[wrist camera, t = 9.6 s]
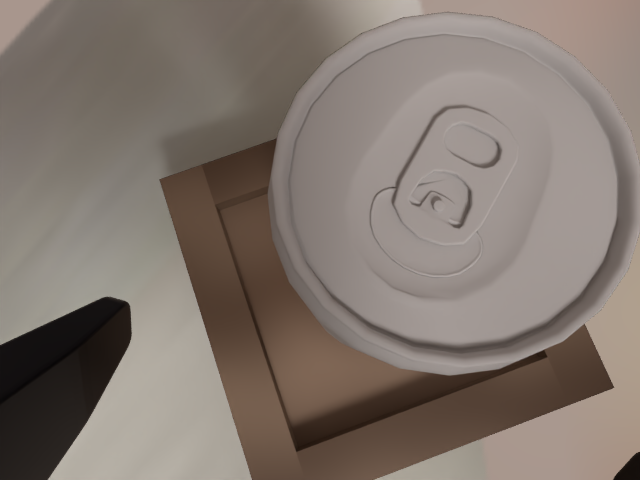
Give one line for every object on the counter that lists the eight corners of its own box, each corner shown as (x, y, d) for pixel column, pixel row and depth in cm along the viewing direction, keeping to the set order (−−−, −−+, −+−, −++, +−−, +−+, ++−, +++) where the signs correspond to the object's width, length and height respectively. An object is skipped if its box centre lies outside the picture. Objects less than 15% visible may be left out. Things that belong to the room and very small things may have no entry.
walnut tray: (583, 382, 18) (614, 387, 16) (272, 501, 18) (265, 521, 16) (454, 97, 20) (467, 71, 19) (176, 195, 20) (159, 179, 18)
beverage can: (281, 307, 18) (183, 247, 6) (349, 194, 19) (379, -57, 7) (401, 378, 17) (551, 465, 5) (465, 259, 18) (720, 107, 6)
